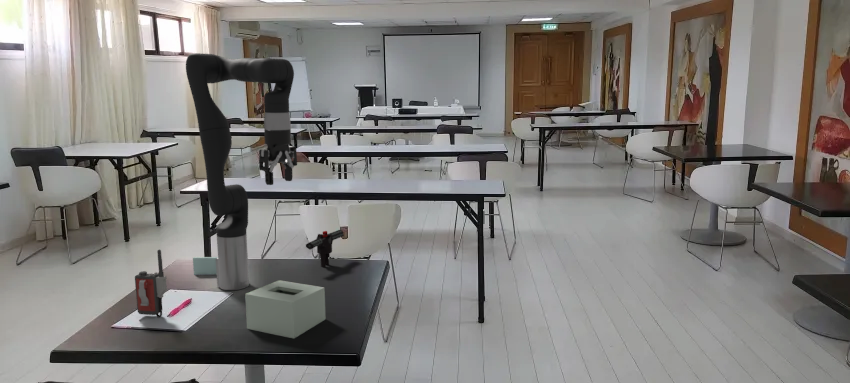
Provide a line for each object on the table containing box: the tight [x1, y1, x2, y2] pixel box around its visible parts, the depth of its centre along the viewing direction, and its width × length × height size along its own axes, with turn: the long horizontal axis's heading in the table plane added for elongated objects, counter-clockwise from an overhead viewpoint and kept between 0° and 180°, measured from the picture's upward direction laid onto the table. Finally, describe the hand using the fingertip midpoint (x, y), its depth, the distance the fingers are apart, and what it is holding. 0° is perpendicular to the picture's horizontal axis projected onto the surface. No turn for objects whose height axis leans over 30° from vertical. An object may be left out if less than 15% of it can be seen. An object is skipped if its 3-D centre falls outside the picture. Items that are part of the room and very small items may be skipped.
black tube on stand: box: [305, 229, 344, 268], centre depth 225 cm, size 5×20×15 cm, turn 155°
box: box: [244, 279, 326, 339], centre depth 174 cm, size 16×14×10 cm
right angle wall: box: [192, 256, 218, 276], centre depth 225 cm, size 12×12×8 cm
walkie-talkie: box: [134, 249, 168, 318], centre depth 180 cm, size 9×4×20 cm, turn 79°
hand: (279, 182), depth 188 cm, fingers open, 8 cm apart
